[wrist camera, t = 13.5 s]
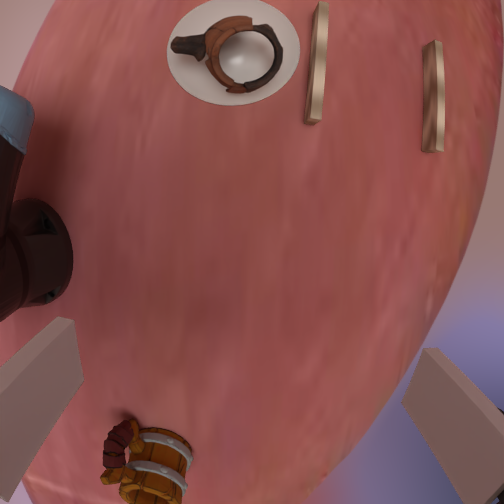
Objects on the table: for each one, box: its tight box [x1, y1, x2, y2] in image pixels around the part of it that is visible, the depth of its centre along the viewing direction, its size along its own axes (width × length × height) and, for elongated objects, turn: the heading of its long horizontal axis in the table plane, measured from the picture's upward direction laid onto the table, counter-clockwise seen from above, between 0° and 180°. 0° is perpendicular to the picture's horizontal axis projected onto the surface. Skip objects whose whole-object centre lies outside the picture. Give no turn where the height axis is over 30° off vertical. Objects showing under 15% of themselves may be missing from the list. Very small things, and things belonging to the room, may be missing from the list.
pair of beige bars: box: [304, 1, 445, 153], centre depth 30 cm, size 16×17×4 cm
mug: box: [100, 419, 193, 504], centre depth 36 cm, size 11×16×15 cm, turn 29°
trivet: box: [167, 0, 300, 106], centre depth 30 cm, size 16×16×1 cm
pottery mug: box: [170, 16, 283, 94], centre depth 28 cm, size 12×9×8 cm
